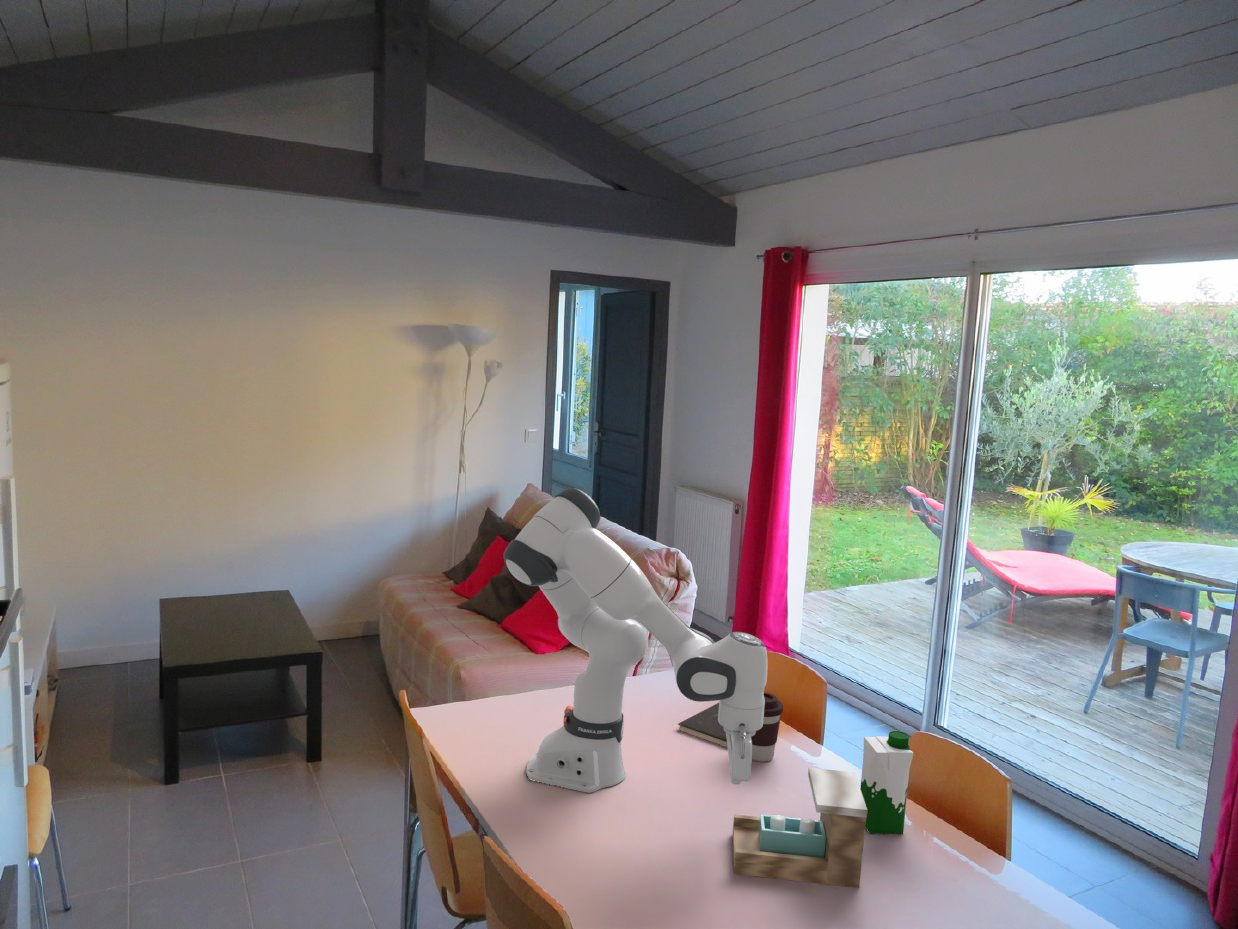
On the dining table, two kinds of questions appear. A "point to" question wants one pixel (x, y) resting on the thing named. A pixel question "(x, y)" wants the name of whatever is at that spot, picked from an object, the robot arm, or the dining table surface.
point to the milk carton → (886, 782)
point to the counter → (843, 832)
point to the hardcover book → (706, 726)
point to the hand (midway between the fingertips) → (735, 781)
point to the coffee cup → (767, 730)
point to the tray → (792, 836)
